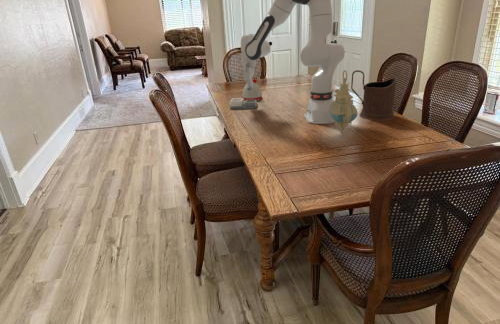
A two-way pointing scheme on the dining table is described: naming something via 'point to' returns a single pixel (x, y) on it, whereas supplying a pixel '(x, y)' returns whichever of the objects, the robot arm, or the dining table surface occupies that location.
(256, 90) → the kitchen timer
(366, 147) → the dining table surface
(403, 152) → the dining table surface
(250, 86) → the cell
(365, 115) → the brown pitcher
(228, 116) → the dining table surface
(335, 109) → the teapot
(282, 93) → the dining table surface
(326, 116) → the robot arm
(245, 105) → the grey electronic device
